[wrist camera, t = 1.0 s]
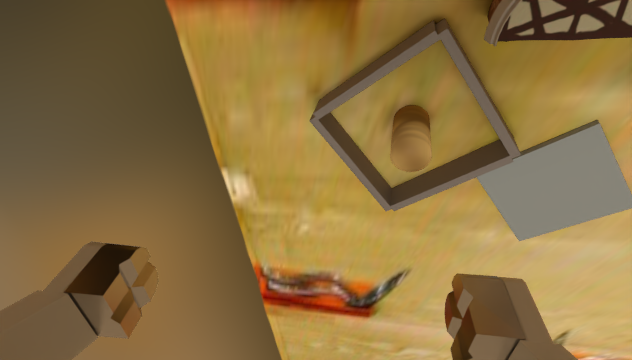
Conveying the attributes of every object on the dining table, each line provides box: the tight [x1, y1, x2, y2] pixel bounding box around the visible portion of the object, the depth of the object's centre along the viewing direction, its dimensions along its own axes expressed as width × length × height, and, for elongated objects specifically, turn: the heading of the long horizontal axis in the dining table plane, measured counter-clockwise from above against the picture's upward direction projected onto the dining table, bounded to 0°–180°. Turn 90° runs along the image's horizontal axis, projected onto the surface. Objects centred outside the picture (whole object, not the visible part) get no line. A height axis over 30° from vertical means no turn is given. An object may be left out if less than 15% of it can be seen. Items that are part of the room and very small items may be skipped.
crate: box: [310, 18, 521, 211], centre depth 43 cm, size 18×18×4 cm
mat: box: [477, 120, 632, 241], centre depth 45 cm, size 14×14×1 cm
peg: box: [390, 105, 432, 172], centre depth 41 cm, size 4×4×8 cm
